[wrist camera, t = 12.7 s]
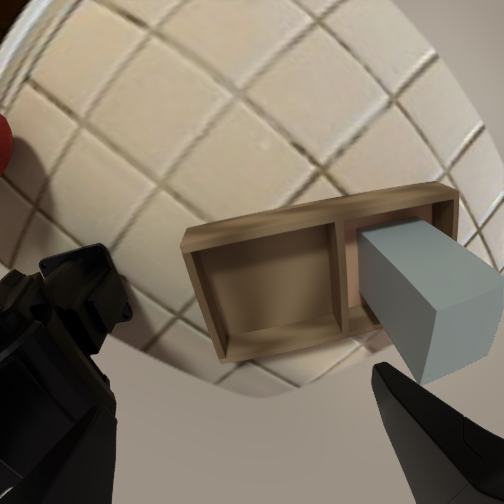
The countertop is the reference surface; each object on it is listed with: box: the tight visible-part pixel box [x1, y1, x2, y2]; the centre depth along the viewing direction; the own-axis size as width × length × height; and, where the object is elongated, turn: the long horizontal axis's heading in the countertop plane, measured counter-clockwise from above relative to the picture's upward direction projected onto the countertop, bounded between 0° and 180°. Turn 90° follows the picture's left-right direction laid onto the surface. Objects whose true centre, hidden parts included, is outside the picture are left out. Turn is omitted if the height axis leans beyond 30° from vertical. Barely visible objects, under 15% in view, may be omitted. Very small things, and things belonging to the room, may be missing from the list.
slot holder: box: [180, 181, 459, 364], centre depth 20 cm, size 18×9×3 cm, turn 101°
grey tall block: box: [356, 216, 504, 386], centre depth 16 cm, size 5×5×10 cm
